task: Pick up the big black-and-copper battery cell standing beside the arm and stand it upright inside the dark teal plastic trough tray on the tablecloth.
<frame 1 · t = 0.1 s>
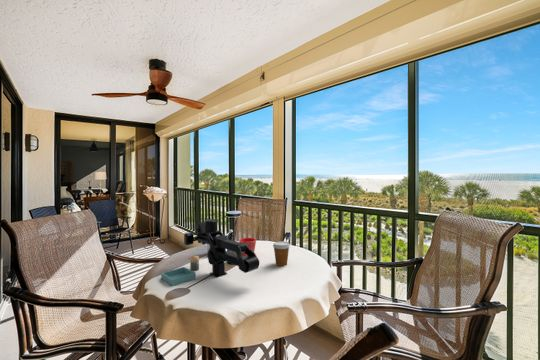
hand: (193, 234, 145), 17 cm above the table, tool horizontal, fingers open, 9 cm apart
flower pot: (247, 255, 160), on the table
battery cell: (194, 269, 134), on the table
supplement box: (215, 254, 161), on the table
disposable coffee cup: (281, 264, 141), on the table
trough tray: (178, 279, 121), on the table
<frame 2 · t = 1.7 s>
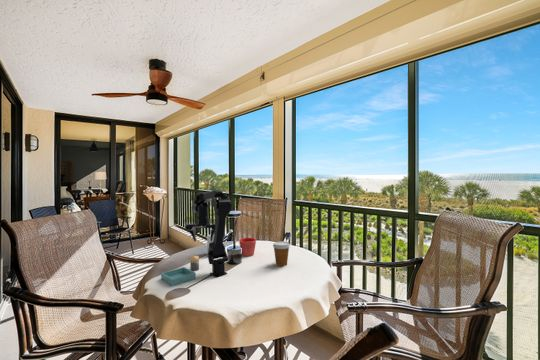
hand: (203, 241, 143), 13 cm above the table, tool pointing down, fingers open, 9 cm apart
nothing on the table moved.
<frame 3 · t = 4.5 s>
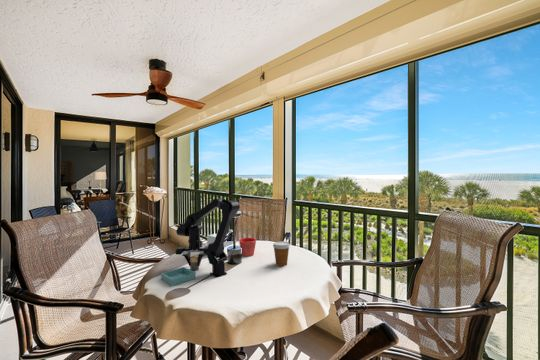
hand: (194, 266, 134), 2 cm above the table, tool pointing down, fingers closed on battery cell, 4 cm apart
battery cell: (194, 269, 134), on the table, touching gripper
everything else where it was.
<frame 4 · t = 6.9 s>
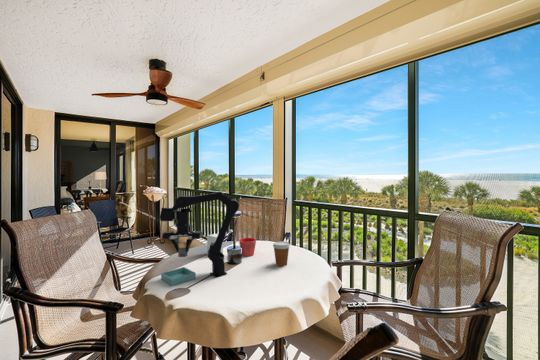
hand: (182, 252, 125), 12 cm above the table, tool pointing down, fingers closed on battery cell, 4 cm apart
battery cell: (182, 255, 125), point 10 cm above the table, touching gripper
everything else where it was.
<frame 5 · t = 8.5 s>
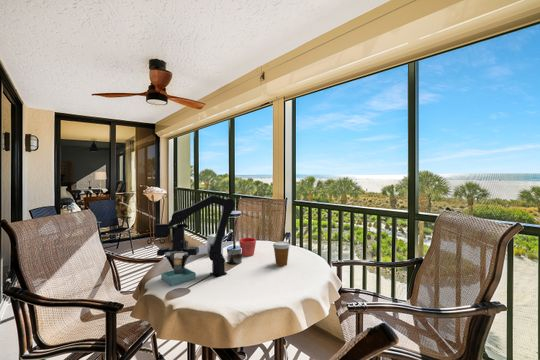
hand: (178, 268, 121), 5 cm above the table, tool pointing down, fingers closed on battery cell, 4 cm apart
battery cell: (178, 272, 121), point 3 cm above the table, touching gripper
everything else where it was.
when the fingers open (3 cm above the table, at t = 9.6 s): battery cell drops 1 cm, resting on trough tray.
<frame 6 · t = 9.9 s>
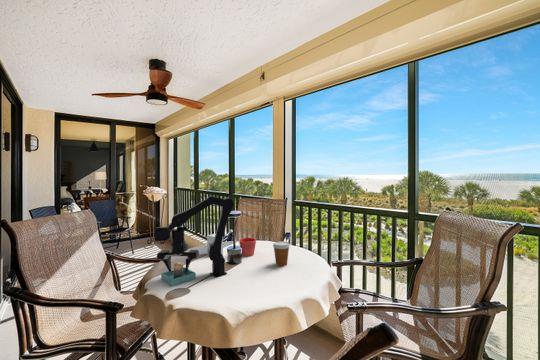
hand: (178, 271, 121), 3 cm above the table, tool pointing down, fingers open, 8 cm apart
battery cell: (178, 278, 121), point 1 cm above the table, touching trough tray
everything else where it was.
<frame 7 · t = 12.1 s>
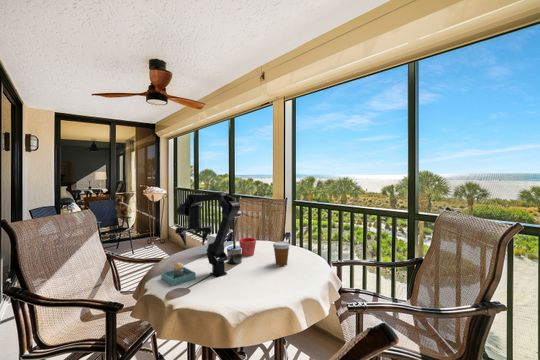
hand: (194, 245, 135), 13 cm above the table, tool pointing down, fingers open, 9 cm apart
nothing on the table moved.
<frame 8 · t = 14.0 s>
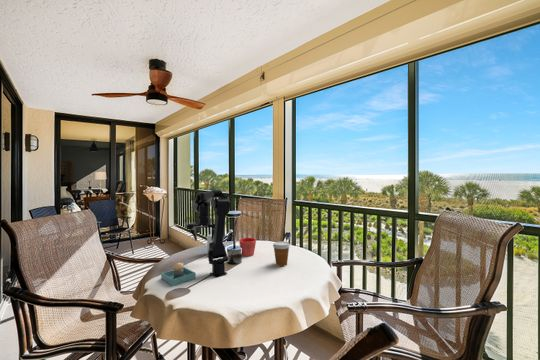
hand: (204, 240, 144), 13 cm above the table, tool pointing down, fingers open, 9 cm apart
nothing on the table moved.
at the end: battery cell 0.1 cm off-centre on the trough tray, point 0.5 cm above the trough tray's base; battery cell tilted 1°; the gripper is holding nothing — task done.
